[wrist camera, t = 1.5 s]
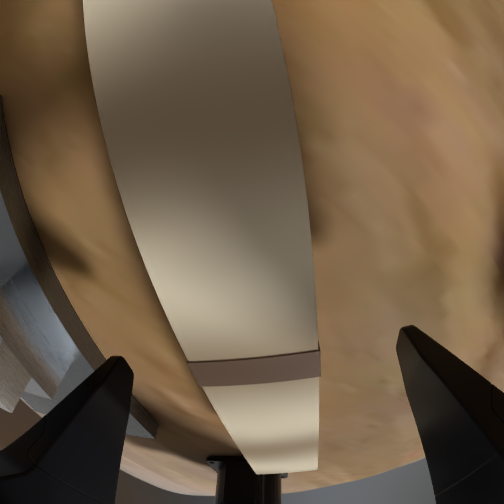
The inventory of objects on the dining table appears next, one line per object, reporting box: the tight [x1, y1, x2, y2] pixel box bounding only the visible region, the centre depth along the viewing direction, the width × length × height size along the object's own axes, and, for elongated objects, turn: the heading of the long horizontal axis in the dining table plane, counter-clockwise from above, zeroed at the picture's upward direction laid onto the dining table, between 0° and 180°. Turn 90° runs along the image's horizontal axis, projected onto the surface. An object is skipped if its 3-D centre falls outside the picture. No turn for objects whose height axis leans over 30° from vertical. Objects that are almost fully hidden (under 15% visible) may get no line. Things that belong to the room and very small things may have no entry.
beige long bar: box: [83, 0, 321, 474], centre depth 9 cm, size 22×4×4 cm, turn 10°
